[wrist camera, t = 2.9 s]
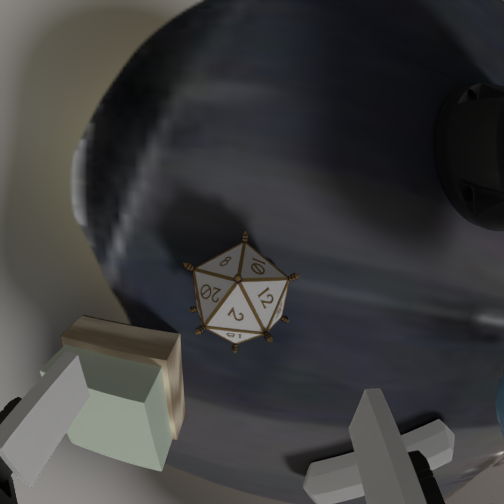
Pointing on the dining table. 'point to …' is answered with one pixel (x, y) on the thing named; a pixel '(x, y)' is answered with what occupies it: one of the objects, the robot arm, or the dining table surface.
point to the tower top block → (121, 409)
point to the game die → (239, 294)
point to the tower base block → (136, 354)
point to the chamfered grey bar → (348, 477)
